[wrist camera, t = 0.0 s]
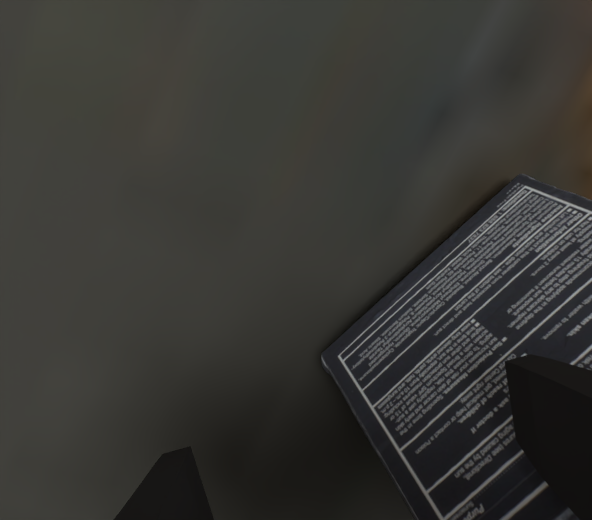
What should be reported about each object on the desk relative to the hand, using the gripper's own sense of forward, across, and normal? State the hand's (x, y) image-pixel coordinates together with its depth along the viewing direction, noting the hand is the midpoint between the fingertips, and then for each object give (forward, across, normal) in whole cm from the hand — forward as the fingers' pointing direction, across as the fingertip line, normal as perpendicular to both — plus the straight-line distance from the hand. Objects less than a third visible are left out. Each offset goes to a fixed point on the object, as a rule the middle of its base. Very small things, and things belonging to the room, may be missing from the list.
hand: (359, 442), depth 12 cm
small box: (+10, -6, +2) cm, 12 cm away
